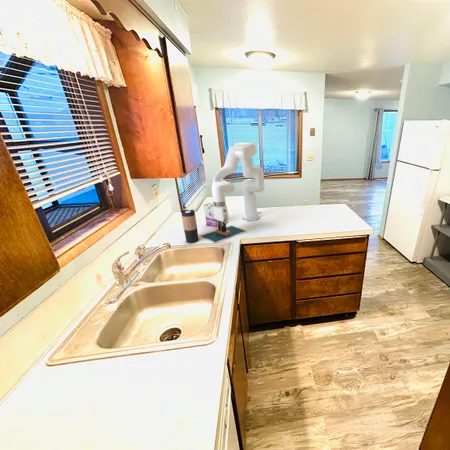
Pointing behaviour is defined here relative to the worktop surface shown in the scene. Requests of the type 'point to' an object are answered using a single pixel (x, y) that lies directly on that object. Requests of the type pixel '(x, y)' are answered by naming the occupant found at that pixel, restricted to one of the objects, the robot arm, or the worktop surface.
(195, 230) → the travel mug
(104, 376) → the worktop surface
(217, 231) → the brush
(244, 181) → the robot arm
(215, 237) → the mat
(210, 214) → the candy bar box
